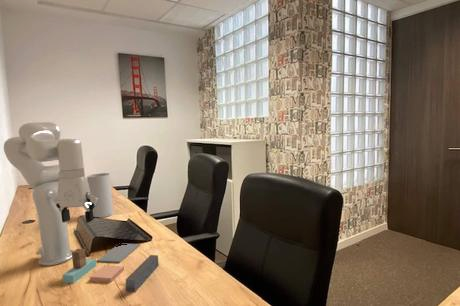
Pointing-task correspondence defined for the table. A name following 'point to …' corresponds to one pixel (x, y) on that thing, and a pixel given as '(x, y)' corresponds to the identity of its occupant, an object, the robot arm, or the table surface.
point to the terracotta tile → (107, 273)
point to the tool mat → (118, 253)
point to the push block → (79, 266)
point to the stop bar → (141, 273)
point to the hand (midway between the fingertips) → (78, 221)
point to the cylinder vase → (101, 194)
